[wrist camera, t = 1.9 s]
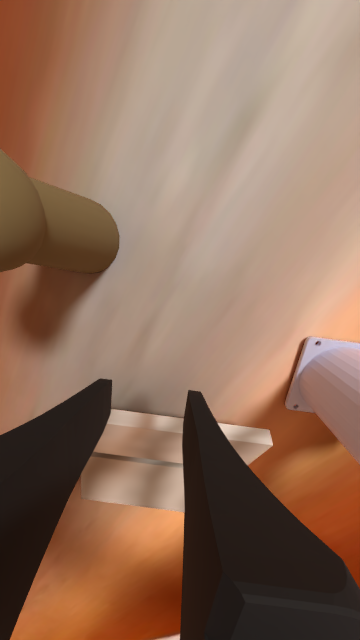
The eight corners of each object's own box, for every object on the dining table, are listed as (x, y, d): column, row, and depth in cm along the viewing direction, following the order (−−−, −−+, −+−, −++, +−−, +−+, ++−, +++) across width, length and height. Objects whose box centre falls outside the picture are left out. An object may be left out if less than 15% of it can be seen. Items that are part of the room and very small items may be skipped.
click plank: (269, 429, 17) (273, 445, 16) (238, 458, 23) (240, 471, 22) (63, 402, 17) (55, 416, 16) (85, 438, 23) (80, 450, 22)
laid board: (237, 461, 23) (240, 471, 22) (225, 506, 25) (227, 517, 24) (85, 441, 23) (80, 450, 22) (86, 488, 25) (81, 498, 24)
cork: (134, 243, 17) (44, 208, 6) (85, 287, 18) (-60, 320, 7) (83, 180, 16) (-133, 3, 5) (35, 231, 17) (-224, 175, 6)
